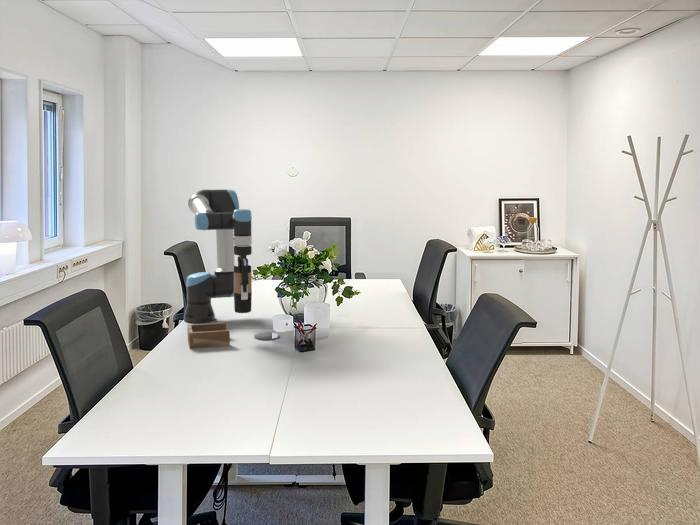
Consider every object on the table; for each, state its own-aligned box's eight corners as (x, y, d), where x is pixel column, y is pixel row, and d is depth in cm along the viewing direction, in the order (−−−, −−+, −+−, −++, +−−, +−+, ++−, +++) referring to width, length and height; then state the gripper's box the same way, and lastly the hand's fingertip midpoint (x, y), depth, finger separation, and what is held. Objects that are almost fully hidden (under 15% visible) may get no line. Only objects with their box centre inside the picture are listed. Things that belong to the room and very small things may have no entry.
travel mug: (249, 313, 254) (249, 267, 251) (232, 313, 255) (231, 267, 251) (253, 309, 262) (252, 264, 259) (236, 308, 262) (235, 264, 259)
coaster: (252, 334, 268) (252, 332, 268) (276, 333, 272) (276, 331, 272) (256, 341, 258) (256, 339, 258) (281, 339, 261) (281, 337, 261)
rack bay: (187, 339, 259) (187, 324, 258) (225, 336, 265) (225, 322, 264) (189, 348, 245) (189, 333, 244) (229, 345, 250) (229, 330, 250)
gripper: (230, 242, 262) (231, 292, 266) (237, 248, 243) (237, 302, 247) (247, 242, 264) (248, 292, 268) (255, 248, 245) (255, 302, 249)
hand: (243, 297), depth 257 cm, fingers closed on travel mug, 8 cm apart
